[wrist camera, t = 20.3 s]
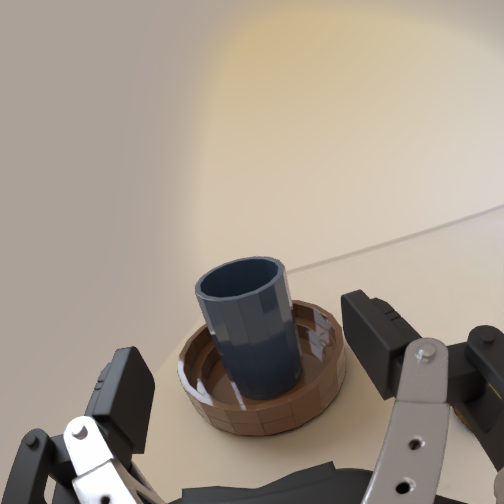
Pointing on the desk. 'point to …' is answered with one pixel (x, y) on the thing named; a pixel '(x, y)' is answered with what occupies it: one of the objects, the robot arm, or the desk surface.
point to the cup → (253, 325)
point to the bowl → (275, 409)
